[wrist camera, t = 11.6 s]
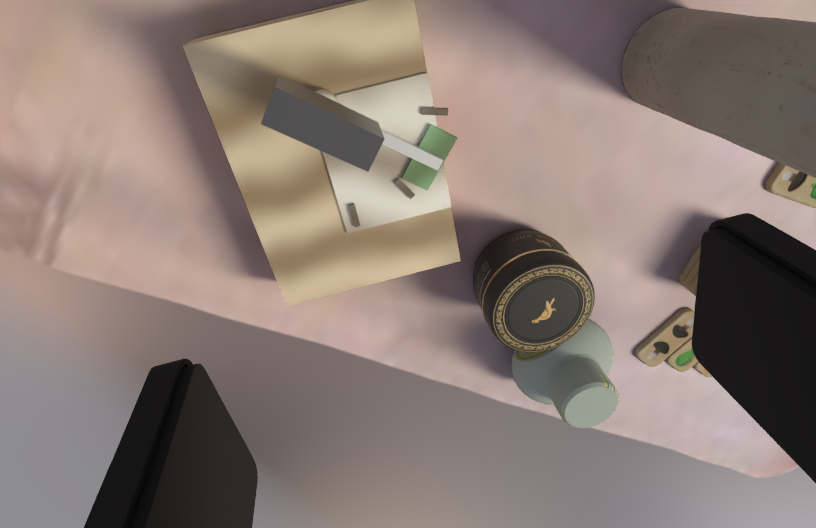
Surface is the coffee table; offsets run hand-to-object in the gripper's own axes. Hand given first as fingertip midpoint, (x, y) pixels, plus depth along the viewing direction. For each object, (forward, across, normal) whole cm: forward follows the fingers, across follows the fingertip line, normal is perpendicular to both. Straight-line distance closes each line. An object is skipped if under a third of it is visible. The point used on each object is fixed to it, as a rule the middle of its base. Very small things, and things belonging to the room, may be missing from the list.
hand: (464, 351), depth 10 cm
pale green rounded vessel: (+37, -14, +34) cm, 52 cm away
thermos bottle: (+36, -26, +6) cm, 45 cm away
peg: (+32, +1, +4) cm, 32 cm away
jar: (+37, -11, +23) cm, 45 cm away
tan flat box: (+36, +3, +7) cm, 37 cm away
